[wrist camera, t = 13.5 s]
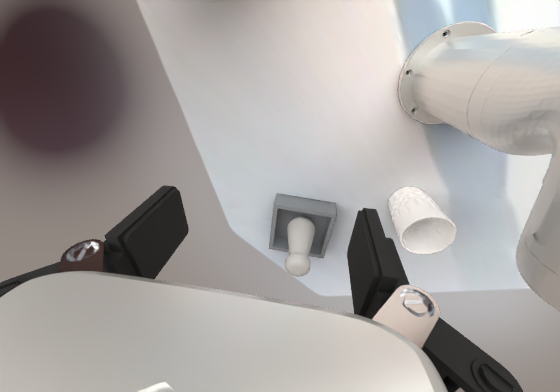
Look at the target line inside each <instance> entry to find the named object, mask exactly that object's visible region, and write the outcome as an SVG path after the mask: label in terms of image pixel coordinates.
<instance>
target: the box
mask: <svg viewBox="0 0 560 392" xmlns="http://www.w3.org/2000/svg"><path fill="white" fill-rule="evenodd" d="M301 214H302V215H304V216H306V217H309V218H310V219H311V221H312V223H313V224H314V226H315V234H314V238H313V241H312V245H311V248H310V252H309V255H308V256H312V257H318V258H324V255H325V252H326V248H327V245H328V242H329V239H330V235H331V232H332V229H333V226H334V222H335V219H336V216H337V212H336V204H335V203H332V202H326V201H320V200H314V199H308V198H302V197H296V196H290V195H284V194H278V193H277V195H276V199H275V202H274V208H273V217H272V226H271V235H270V244H269V249H274V250H279V251H285V252H289V245H288V234H287V226H288V224H289V222H290V221H291V220H292V219H293V218H294V217H296V216H299V215H301Z"/></svg>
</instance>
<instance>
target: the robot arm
mask: <svg viewBox="0 0 560 392" xmlns="http://www.w3.org/2000/svg"><path fill="white" fill-rule="evenodd" d="M444 32H445V36H443V33H444ZM407 71H409V73H408V74H407V75H406V72H407ZM398 93H399V99H400V102H401V104H402V107H403V108H404V110H405V111H406V112H407V113H408V114H409V115H410V116H411V117H412V118H414V119H416V120H417V121H420V122H423V123H427V124H443V123H447V124H449V125H451V126H453V127H455V128H456V129H458V130H460V131H462V132H464V133H465V134H467V135H469V136H471V137H473V138H474V139H476V140H478V141H480V142H482V143H484V144H485V145H487V146H489V147H491V148H493V149H495V150H498V151H500V152H504V153H507V154H512V155H524V156H534V155H544V154H551V153H552V158H551V161H550V164H549V167H548V169H547V172H546V174H545V176H544V179H543V182H542V183H543V185H542V187H541V190H540V192H539V194H538V197H537V199H536V201H535V204H534V206H533V208H532V211H531V213H530V215H529V218H528V220H527V222H526V225H525V227H524V229H523V232H522V234H521V237H520V240H519V243H518V246H517V251H516V262H517V266H518V269H519V272H520V274H521V276H522V277H523V279H524V280H525V282H526V283H527V284H528V286H529V287H530V288H531V289H532V290H533V291H534V292H535V293H536V294H537V295H538V296H540V297H541V298H542V299H543V300H544V301H546V302H547V303H548V304H550V305H551V306H553V307H554V308H555V309H557V310H558V311H560V27H552V28H542V29H532V30H522V31H512V32H502V33H497V32H496V31H495V30H494V29H493V28H491V27H489V26H488V25H486V24H483V23H479V22H459V23H455V24H451V25H448V26H445V27H443V28H441V29H439V30H437V31H435V32H434V33H432V34H431V35H429V36H428V37H427V38H425V39H424V40H423V41H422V42H421V43H420V44H419V45H418V46H417V47H416V48H415V49H414V51H413V52H412V53H411V54H410V56H409V58H408V59H407V61H406V63H405V64H404V67H403V69H402V72H401V75H400V79H399V86H398ZM412 109H414V111H412ZM187 234H188V224H187V220H186V216H185V212H184V208H183V204H182V199H181V195H180V192H179V190H177V188H176V187H174V186H162V187H161V188H160V189H159V190H157V191H156V192H155V193H154V194H153V195H151V196H150V197H149V198H148V199H147V200H146V201H144V202H143V203H142V204H141V205H140V206H139V207H137V208H136V209H135V210H134V211H133V212H132V213H130V214H129V215H128V216H127V217H126V218H124V219H123V220H122V221H121V222H120V223H119V224H117V225H116V226H115V227H114V228H113V229H112V230H110V231H109V232H108V233H107V234H106V235H105V238H106V240H105V241H104V242H102V241H101V240H97V239H90V240H85V241H82V242H79V243H77V244H75V245H73V246H71V247H70V248H69V249H67V250H66V251H65V252H64V253H63V255H62V257H61V260H60V262H58V263H55V264H52V265H49V266H46V267H43V268H40V269H37V270H34V271H31V272H28V273H25V274H22V275H20V276H17V277H14V278H11V279H8V280H6V281H3V282H1V283H0V392H523V390H522V388H521V387H520V385H519V383H518V382H517V380H516V379H515V378H514V377H513V376H512V374H511V373H510V372H509V371H508V370H507V369H505V368H504V367H503V366H502V365H501V364H500V363H498V362H497V361H496V360H494V359H493V358H492V357H491V356H489V355H488V354H487V353H485V352H484V351H483V350H481V349H480V348H479V347H477V346H476V345H475V344H474V343H472V342H471V341H470V340H468V339H467V338H466V337H464V336H463V335H462V334H460V333H459V332H458V331H457V330H455V329H454V328H453V327H451V326H450V325H449V324H447V323H446V322H445V321H444V320H442V319H441V318H440V317H439V315H440V310H439V306H438V305H437V303H436V301H435V300H434V299H433V298H432V297H431V295H429V294H428V293H427V292H426V291H424V290H422V289H420V288H418V287H415V286H412V285H409V282H408V279H407V277H406V274H405V271H404V269H403V266H402V263H401V260H400V258H399V255H398V252H397V250H396V247H395V244H394V242H393V240H392V239H391V238H386V237H385V234H384V231H383V228H382V225H381V222H380V219H379V216H378V213H377V211H376V209H368V208H363V210H362V211H360V210H359V211H358V214H357V218H356V221H355V225H354V229H353V232H352V236H351V240H350V243H349V247H348V252H347V258H348V266H349V274H350V282H351V290H352V298H353V306H354V314H352V313H348V312H343V311H339V310H334V309H329V308H324V307H318V306H313V305H307V304H302V303H296V302H290V301H284V300H278V299H272V298H266V297H261V296H254V295H248V294H243V293H236V292H230V291H224V290H218V289H211V288H205V287H199V286H193V285H187V284H181V283H175V282H167V281H162V280H155V278H156V276H157V275H158V274H159V272H160V271H161V269H162V268H163V266H164V265H165V264H166V263H167V261H168V260H169V258H170V257H171V256H172V254H173V253H174V252H175V250H176V249H177V248H178V246H179V245H180V243H181V242H182V241H183V239H184V238H185V236H186V235H187Z"/></svg>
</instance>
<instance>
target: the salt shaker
mask: <svg viewBox="0 0 560 392" xmlns="http://www.w3.org/2000/svg"><path fill="white" fill-rule="evenodd" d="M287 234H288V245H289V255H288V257H287V259H286V262H285V265H286V270H287V271H288V272H289V273H290V274H292V275H294V276H303V275H305V274H307V273H308V272H309V270H310V260H309V258H308V255H309V252H310V248H311V245H312V241H313V238H314V234H315V226H314V224H313V223H312V221H311V219H310V218H309V217H306V216H304V215H302V214H301V215H299V216H296V217H294V218H293V219H292V220H291V221H290V222H289V224H288V226H287Z"/></svg>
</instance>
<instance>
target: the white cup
mask: <svg viewBox="0 0 560 392" xmlns="http://www.w3.org/2000/svg"><path fill="white" fill-rule="evenodd" d="M388 207H389V209H390V212H391V217H392V220H393V223H394V226H395V229H396V231H397V234H398V237H399V240H400V242H401V245H402V246H403V248H404V249H406V250H407V251H409V252H411V253H414V254H421V255H425V254H433V253H436V252H439V251H441V250H443V249H445V248H447V247H448V246H449V245H450V244H451V243H452V242H453V241H454V239H455V238H456V235H457V229H456V226H455V225H454V223H453V222H452V221H451V220H450V219H449V218H448V217H447V215H446V214H445V213H444V212H443V211H442V210H441V209H440V208H439V206H438V205H437V204H436V203H435V202H434V201H433V200H432V199H431V198H430V197H429V196H428V195H427V194H426V193H425V192H424V191H422V190H421V189H419V188H417V187H405V188H401V189H399V190H397V191H396V192H394V193H393V194H392V196H391V197H390V198H389V203H388Z"/></svg>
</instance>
